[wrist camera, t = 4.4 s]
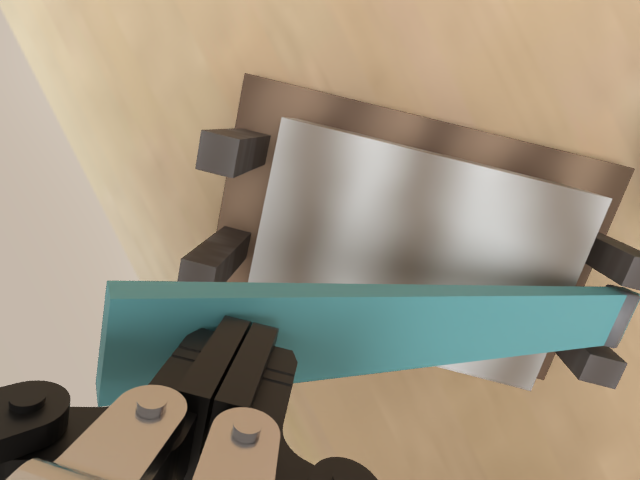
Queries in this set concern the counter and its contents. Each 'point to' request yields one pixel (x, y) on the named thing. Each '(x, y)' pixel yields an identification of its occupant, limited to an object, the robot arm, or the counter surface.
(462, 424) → the counter surface
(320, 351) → the latch bar
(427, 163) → the base
